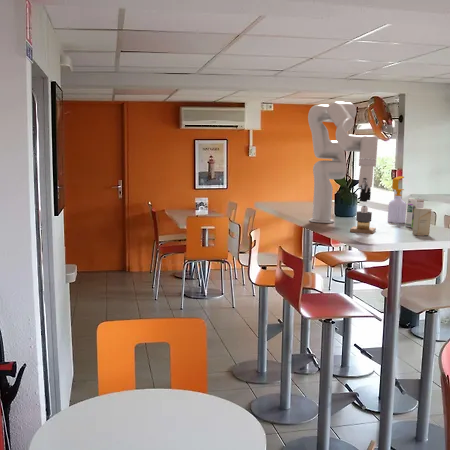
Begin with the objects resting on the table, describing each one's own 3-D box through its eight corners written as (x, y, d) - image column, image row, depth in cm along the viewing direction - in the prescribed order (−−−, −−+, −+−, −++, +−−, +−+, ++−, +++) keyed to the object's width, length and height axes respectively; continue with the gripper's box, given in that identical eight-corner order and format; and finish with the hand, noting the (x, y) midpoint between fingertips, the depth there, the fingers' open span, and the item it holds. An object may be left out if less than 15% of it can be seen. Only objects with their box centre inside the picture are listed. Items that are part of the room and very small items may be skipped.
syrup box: (405, 226, 281) (407, 197, 279) (414, 226, 283) (416, 197, 281) (412, 228, 276) (414, 199, 274) (422, 227, 278) (424, 199, 276)
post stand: (353, 229, 263) (355, 204, 261) (375, 231, 259) (377, 205, 258) (350, 231, 254) (351, 205, 252) (372, 233, 250) (374, 207, 249)
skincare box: (417, 235, 249) (419, 208, 247) (411, 234, 253) (413, 207, 251) (429, 235, 251) (432, 208, 249) (423, 234, 255) (425, 207, 253)
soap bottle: (408, 223, 297) (412, 176, 294) (396, 223, 293) (399, 176, 289) (396, 220, 305) (399, 176, 302) (383, 221, 301) (387, 175, 297)
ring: (357, 219, 260) (358, 211, 260) (371, 220, 258) (372, 212, 257) (355, 220, 254) (355, 212, 254) (369, 222, 252) (370, 213, 251)
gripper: (362, 162, 262) (359, 198, 264) (355, 162, 246) (353, 201, 248) (378, 163, 259) (375, 199, 261) (373, 163, 243) (370, 202, 245)
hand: (364, 200), depth 255 cm, fingers open, 9 cm apart
